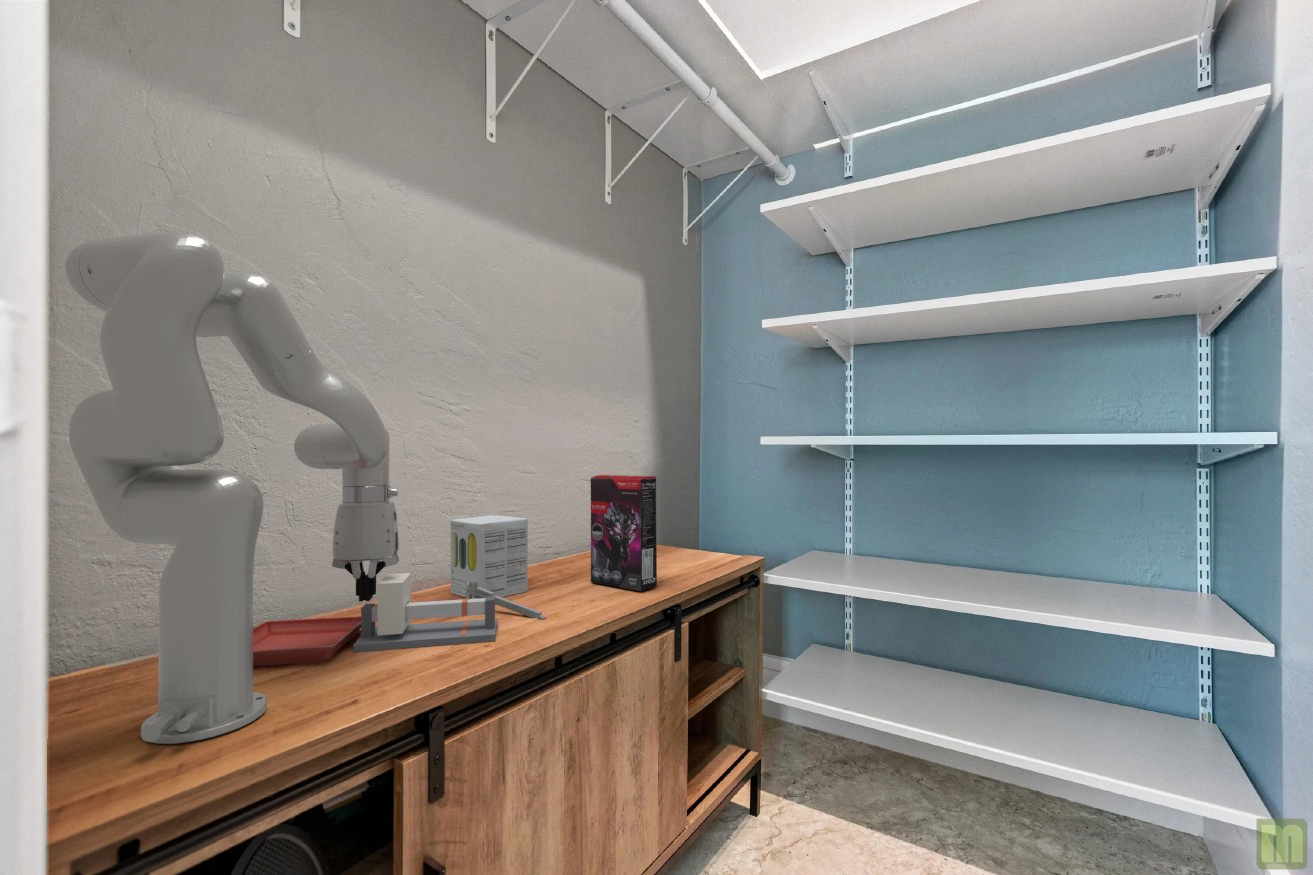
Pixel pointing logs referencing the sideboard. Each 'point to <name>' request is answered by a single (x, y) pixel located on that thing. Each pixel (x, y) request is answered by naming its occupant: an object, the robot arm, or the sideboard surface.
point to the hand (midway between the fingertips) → (366, 599)
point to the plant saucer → (301, 639)
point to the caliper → (501, 601)
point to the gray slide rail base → (431, 625)
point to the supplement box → (490, 554)
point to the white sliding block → (393, 603)
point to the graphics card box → (624, 531)
